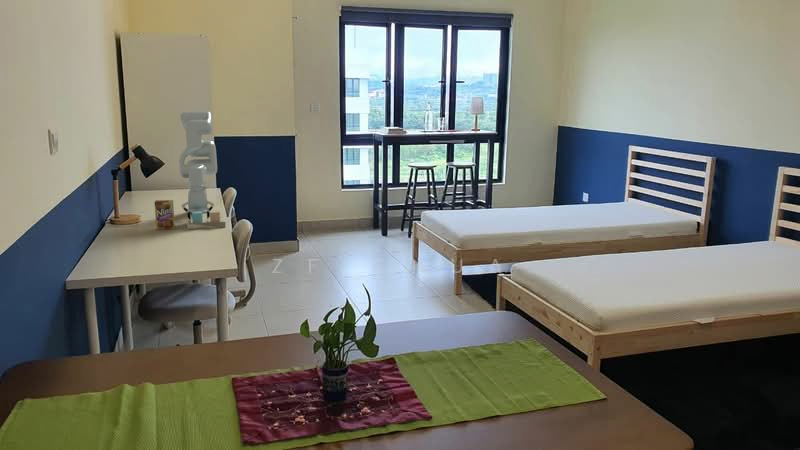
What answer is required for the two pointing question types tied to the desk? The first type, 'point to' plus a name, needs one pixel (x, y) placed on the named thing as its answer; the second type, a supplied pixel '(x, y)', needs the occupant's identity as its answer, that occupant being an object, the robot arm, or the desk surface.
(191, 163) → the robot arm
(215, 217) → the ochre block
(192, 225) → the lane shelf
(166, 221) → the candy box
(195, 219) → the teal block
